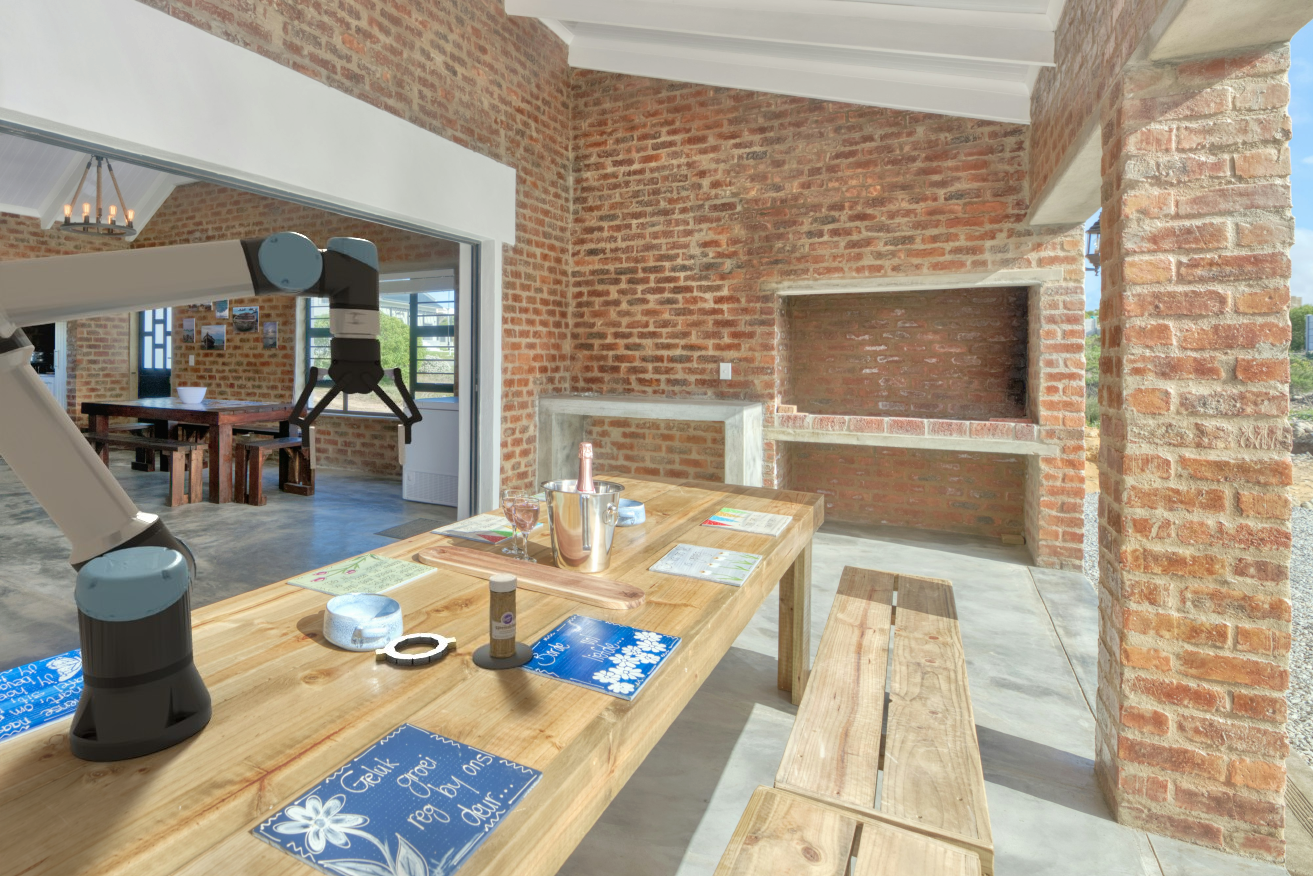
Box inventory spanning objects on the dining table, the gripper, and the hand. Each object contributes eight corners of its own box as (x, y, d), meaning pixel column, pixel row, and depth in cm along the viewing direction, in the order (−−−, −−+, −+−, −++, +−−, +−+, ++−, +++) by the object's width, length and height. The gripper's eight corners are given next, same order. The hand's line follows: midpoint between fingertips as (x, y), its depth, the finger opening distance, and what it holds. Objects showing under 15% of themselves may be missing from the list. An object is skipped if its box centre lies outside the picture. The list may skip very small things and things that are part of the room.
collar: (379, 671, 109) (379, 664, 109) (374, 646, 118) (373, 640, 118) (460, 657, 115) (460, 650, 115) (450, 634, 124) (450, 628, 123)
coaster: (479, 673, 109) (479, 671, 109) (467, 648, 118) (467, 646, 118) (540, 662, 114) (540, 660, 114) (523, 639, 123) (523, 637, 122)
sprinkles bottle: (500, 661, 113) (500, 583, 111) (483, 653, 116) (483, 576, 114) (522, 653, 116) (522, 576, 115) (505, 645, 119) (505, 570, 117)
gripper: (266, 333, 102) (272, 473, 105) (438, 339, 114) (439, 465, 116) (268, 334, 109) (274, 465, 112) (431, 339, 120) (432, 458, 123)
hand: (358, 465), depth 114 cm, fingers open, 13 cm apart
